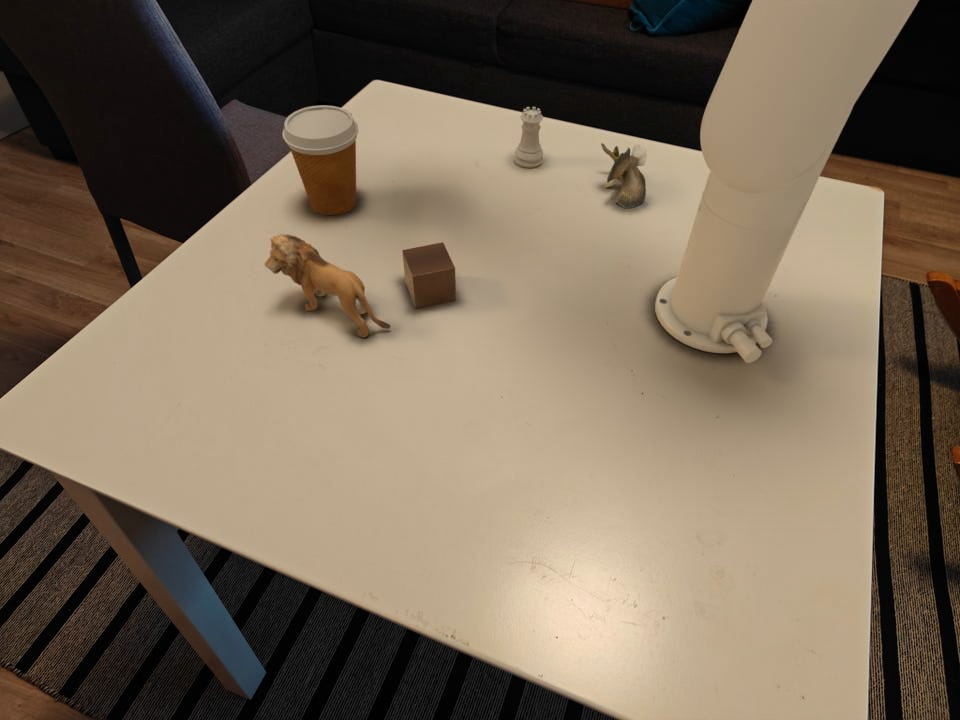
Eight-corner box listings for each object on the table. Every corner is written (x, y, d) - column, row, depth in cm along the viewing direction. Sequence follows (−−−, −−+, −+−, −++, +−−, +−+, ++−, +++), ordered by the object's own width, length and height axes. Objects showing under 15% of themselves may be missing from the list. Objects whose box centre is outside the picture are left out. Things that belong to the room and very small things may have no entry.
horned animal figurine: (583, 166, 95) (593, 190, 88) (615, 124, 92) (628, 146, 85) (622, 192, 98) (635, 218, 91) (654, 153, 94) (670, 177, 87)
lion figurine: (271, 307, 76) (251, 246, 69) (297, 280, 79) (281, 219, 73) (379, 345, 72) (370, 284, 65) (402, 315, 75) (396, 254, 69)
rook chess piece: (509, 155, 99) (512, 105, 93) (537, 151, 100) (541, 101, 94) (519, 171, 96) (522, 120, 90) (547, 166, 97) (552, 116, 91)
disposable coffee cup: (378, 189, 93) (368, 109, 84) (351, 227, 87) (338, 145, 78) (317, 178, 94) (301, 99, 85) (286, 215, 88) (266, 134, 79)
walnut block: (456, 300, 77) (455, 267, 73) (415, 308, 76) (412, 276, 72) (444, 274, 80) (443, 241, 77) (405, 282, 79) (402, 249, 76)
